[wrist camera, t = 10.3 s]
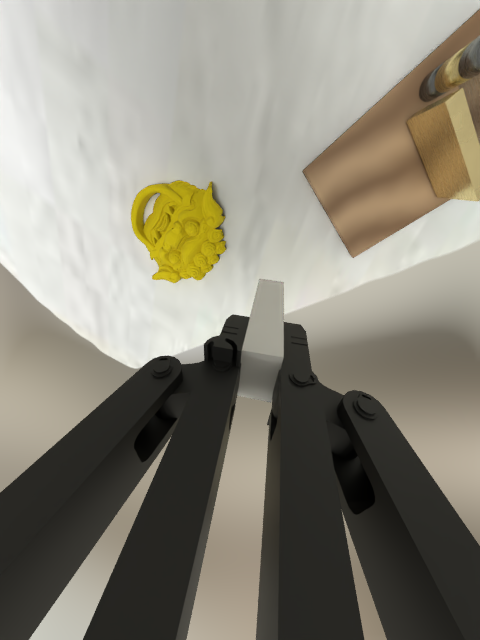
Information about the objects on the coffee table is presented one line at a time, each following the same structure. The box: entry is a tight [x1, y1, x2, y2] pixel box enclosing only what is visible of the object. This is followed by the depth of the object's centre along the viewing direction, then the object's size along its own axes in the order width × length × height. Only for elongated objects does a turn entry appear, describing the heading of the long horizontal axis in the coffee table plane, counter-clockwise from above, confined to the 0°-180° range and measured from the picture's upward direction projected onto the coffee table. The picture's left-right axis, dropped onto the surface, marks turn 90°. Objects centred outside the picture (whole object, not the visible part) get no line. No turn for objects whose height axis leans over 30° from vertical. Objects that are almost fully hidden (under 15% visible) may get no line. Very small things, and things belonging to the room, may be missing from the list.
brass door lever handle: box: [407, 42, 480, 201], centre depth 20 cm, size 12×4×7 cm, turn 42°
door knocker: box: [131, 180, 226, 283], centre depth 35 cm, size 16×16×4 cm
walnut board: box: [303, 9, 480, 258], centre depth 26 cm, size 15×19×1 cm
